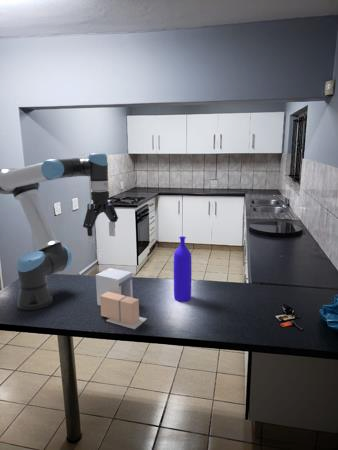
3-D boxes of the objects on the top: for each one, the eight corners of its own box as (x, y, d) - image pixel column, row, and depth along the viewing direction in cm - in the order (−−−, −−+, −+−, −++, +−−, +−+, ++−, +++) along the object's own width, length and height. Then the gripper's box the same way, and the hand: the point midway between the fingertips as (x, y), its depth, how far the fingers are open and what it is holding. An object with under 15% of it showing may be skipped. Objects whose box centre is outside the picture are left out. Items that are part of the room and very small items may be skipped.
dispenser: (97, 304, 154) (95, 274, 151) (111, 296, 162) (109, 267, 159) (120, 311, 148) (119, 279, 145) (133, 302, 156) (132, 272, 153)
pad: (106, 321, 139) (106, 320, 139) (119, 312, 147) (119, 311, 147) (134, 329, 133) (134, 328, 132) (146, 319, 140) (146, 318, 140)
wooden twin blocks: (101, 315, 143) (99, 295, 141) (108, 310, 147) (107, 291, 145) (132, 324, 135) (131, 303, 133) (139, 319, 140) (138, 298, 138)
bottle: (176, 303, 155) (176, 240, 148) (171, 296, 163) (171, 235, 156) (193, 301, 157) (194, 238, 150) (188, 293, 165) (188, 234, 158)
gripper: (86, 194, 130) (89, 247, 135) (124, 188, 152) (126, 234, 156) (71, 193, 134) (75, 245, 139) (111, 187, 155) (113, 232, 160)
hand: (102, 239), depth 147 cm, fingers open, 13 cm apart
